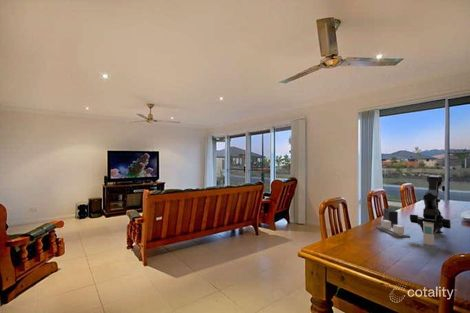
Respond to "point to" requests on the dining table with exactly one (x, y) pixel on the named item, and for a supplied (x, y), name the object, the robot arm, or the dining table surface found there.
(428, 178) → the robot arm
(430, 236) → the block
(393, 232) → the mounting plate
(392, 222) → the small box
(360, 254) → the dining table surface
